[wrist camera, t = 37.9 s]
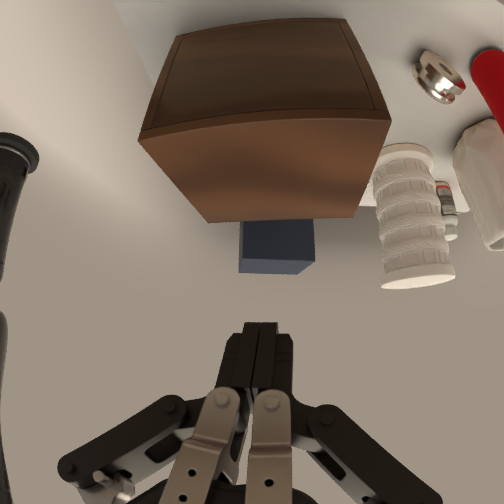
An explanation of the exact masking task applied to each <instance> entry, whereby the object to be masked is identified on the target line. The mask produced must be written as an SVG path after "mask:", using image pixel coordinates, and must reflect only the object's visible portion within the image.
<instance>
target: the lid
mask: <svg viewBox="0 0 504 504" xmlns="http://www.w3.org/2000/svg"><path fill="white" fill-rule="evenodd" d="M391 122H392V119H391V117H390V114H389V111H382V110H367V109H290V110H273V111H261V112H250V113H241V114H232V115H225V116H217V117H211V118H204V119H198V120H193V121H187V122H182V123H177V124H172V125H167V126H162V127H158V128H153V129H149V130H145V131H141V132H140V134H139V138H138V142H139V143H140V145H142V147H143V148H144V149H145V150H146V152H147V153H148V154H149V155H150V156H151V157H152V159H153V160H154V161H155V162H156V163H157V165H158V166H159V167H160V168H161V169H162V170H163V171H164V173H165V174H166V175H167V176H168V177H169V178H170V180H171V181H172V182H173V183H174V184H175V185H176V186H177V188H178V189H179V190H180V191H181V192H182V193H183V195H184V196H185V197H186V198H187V199H188V200H189V201H190V203H191V204H192V205H193V206H194V207H195V208H196V210H197V211H198V212H199V213H200V214H201V215H202V217H203V218H204V219H205V220H206V221H207V222H208V223H220V222H238V221H239V222H240V221H260V220H285V219H314V218H353V217H354V214H355V212H356V210H357V207H358V205H359V203H360V201H361V199H362V196H363V194H364V191H365V189H366V187H367V184H368V182H369V180H370V177H371V175H372V172H373V170H374V167H375V165H376V162H377V160H378V157H379V155H380V152H381V149H382V147H383V144H384V141H385V139H386V136H387V133H388V130H389V128H390V125H391Z"/></svg>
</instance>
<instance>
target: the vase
mask: <svg viewBox="0 0 504 504" xmlns="http://www.w3.org/2000/svg"><path fill="white" fill-rule="evenodd" d="M453 168H454V171H455V173H456V176H457V179H458V182H459V185H460V188H461V191H462V193H463V195H464V197H465V200H466V202H467V204H468V206H469V208H470V210H471V212H472V215H473V217H474V220H475V222H476V225H477V227H478V231H479V233H480V236H481V239H482V241H483V244H484V245H485V247H486V248H487V249H488V250H491V251H504V135H503V133H502V130H501V128H500V126H499V125H498V123H497V121H496V120H495V119H486V120H483V121H481V122H479V123H477V124H475V125H473V126H471V127H469V128H467V129H465V131H464V133H463V134H462V136H461V138H460V140H459V141H458V143H457V146H456V148H455V150H454V155H453Z"/></svg>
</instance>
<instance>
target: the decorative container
mask: <svg viewBox="0 0 504 504" xmlns="http://www.w3.org/2000/svg"><path fill="white" fill-rule="evenodd" d="M433 170H434V161H433V158H432V155H431V154H430V152H429V151H428V150H427V149H426V148H424V147H422V146H419V145H416V144H410V143H404V144H395V145H390V146H387V147H384V148H382V149H381V152H380V155H379V157H378V160H377V162H376V165H375V167H374V170H373V172H372V175H371V177H370V180H369V183H370V184H371V185H373V196H374V199H375V201H376V203H377V207H376V216H377V218H378V220H379V223H380V229H379V237H380V240H381V242H382V246H383V250H382V255H381V259H382V262H383V263H384V267H385V274H384V275H382V276H381V287H382V288H386V289H405V288H416V287H424V286H430V285H435V284H439V283H443V282H447V281H450V280H452V279H454V278H455V268H454V266H452V265H450V264H449V262H448V253H449V245H448V242H447V240H445V235H444V232H445V222H444V220H443V218H442V217H441V214H440V210H441V203H440V200H439V198H438V196H437V195H436V193H435V191H436V183H435V180H434V178H433V177H432V175H431V174H432V172H433Z"/></svg>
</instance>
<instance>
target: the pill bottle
mask: <svg viewBox="0 0 504 504" xmlns="http://www.w3.org/2000/svg"><path fill="white" fill-rule="evenodd" d="M435 193H436V195H437V196H438V198H439V200H440V203H441V210H440V214H441V217H442V218H443V220H444V222H445V232H444V235H445V240H447V241H450V240H453V239H455V238H457V237H458V234H457V229H456V228H455V226H456V225H457V223H458V217H457V212H456V208H455V204H454V200H453V196H452V193H451V189H450V186H449V184H447V183H445V182H436V191H435Z"/></svg>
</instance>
